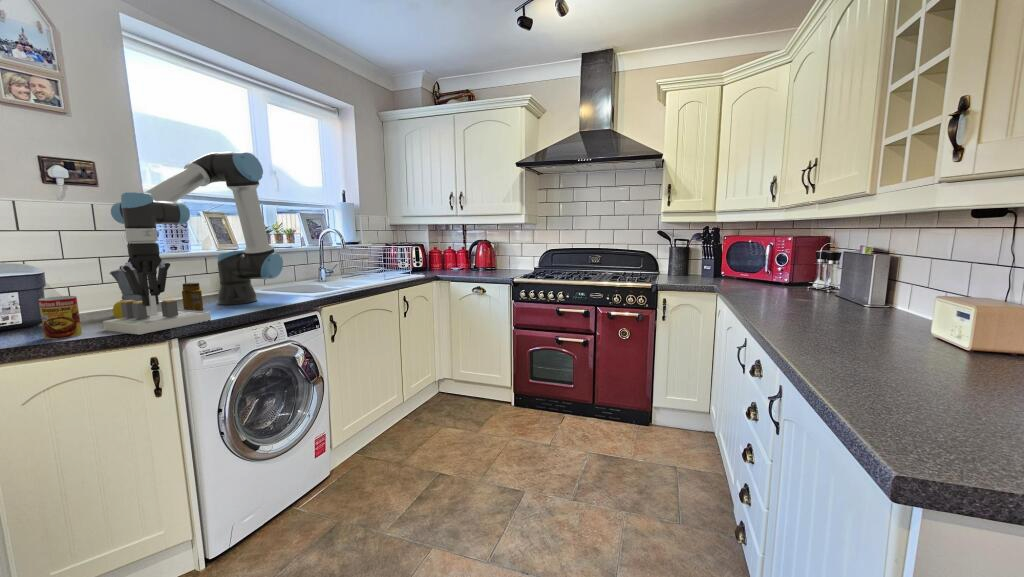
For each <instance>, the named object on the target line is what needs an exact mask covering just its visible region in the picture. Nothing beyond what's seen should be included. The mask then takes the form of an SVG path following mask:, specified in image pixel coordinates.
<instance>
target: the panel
mask: <svg viewBox="0 0 1024 577" xmlns="http://www.w3.org/2000/svg"><path fill="white" fill-rule="evenodd" d="M204 311H205V310H203V311H193V310H184V309H183V308H182V309H180V308H178V316H173V317H163V315H162V311H157V314H158V315H157V316H150V317H149V318H143V319H134V317H130V318H120V319H117V318H114V319H108V320H103V328H104V329H103V330H104V331H108V332H117V333H125V334H131V335H137V336H139V335H143V334H148V333H155V332H158V331H159V332H160V331H163V330H168V329H169V330H170V329H173V328H180V327H185V326H189V325H194V324H198V323H199V322H200V323H204V322H203V321H205V322H209V321H208V320H210V321H212V314H211V311H205V312H204ZM200 323H199V324H200Z"/></svg>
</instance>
